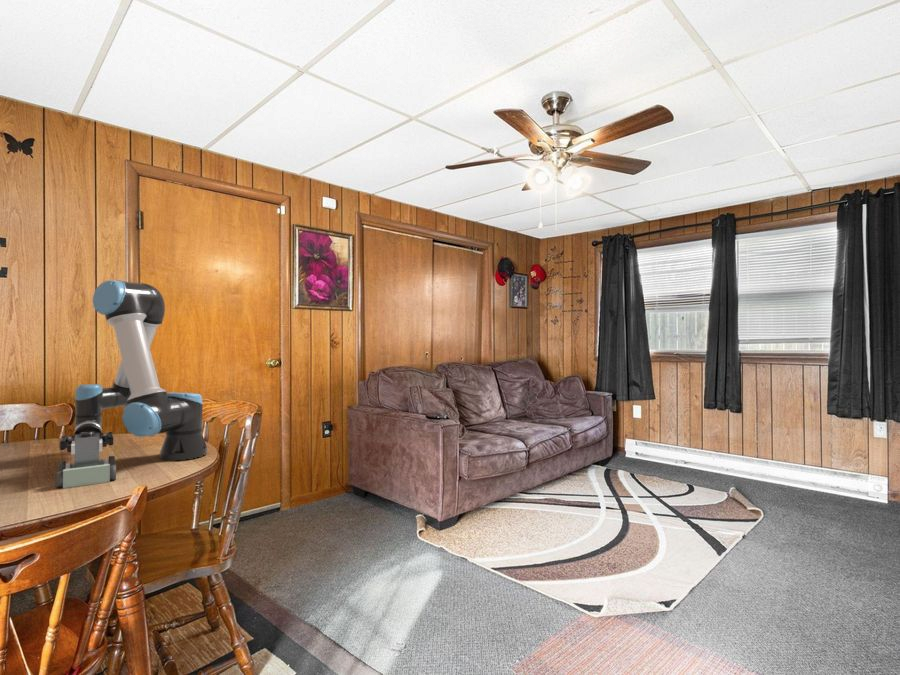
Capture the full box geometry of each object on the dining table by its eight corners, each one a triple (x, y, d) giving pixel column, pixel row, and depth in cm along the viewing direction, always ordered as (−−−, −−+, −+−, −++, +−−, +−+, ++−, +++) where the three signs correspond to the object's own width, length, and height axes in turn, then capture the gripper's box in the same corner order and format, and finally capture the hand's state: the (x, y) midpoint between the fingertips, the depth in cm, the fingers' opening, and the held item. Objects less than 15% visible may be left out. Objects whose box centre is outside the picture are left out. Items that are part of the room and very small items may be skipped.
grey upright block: (75, 463, 150) (75, 431, 150) (98, 460, 154) (99, 429, 154) (74, 468, 145) (74, 435, 145) (99, 465, 149) (99, 433, 149)
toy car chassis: (59, 474, 152) (59, 458, 152) (114, 467, 161) (114, 452, 161) (55, 489, 139) (55, 471, 138) (116, 481, 147) (116, 464, 147)
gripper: (121, 441, 170) (124, 456, 151) (51, 448, 158) (45, 465, 140) (122, 420, 170) (125, 432, 151) (51, 425, 158) (45, 439, 140)
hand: (86, 448), depth 145 cm, fingers closed on grey upright block, 6 cm apart
